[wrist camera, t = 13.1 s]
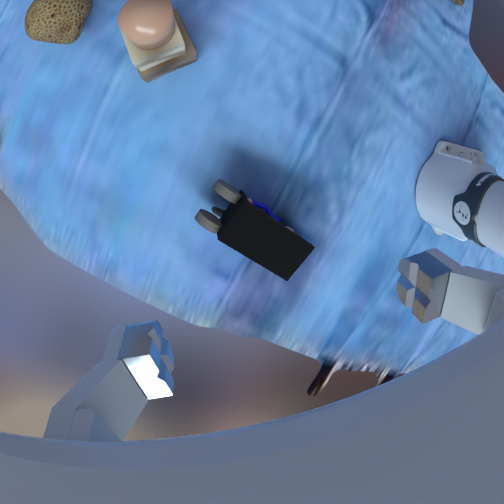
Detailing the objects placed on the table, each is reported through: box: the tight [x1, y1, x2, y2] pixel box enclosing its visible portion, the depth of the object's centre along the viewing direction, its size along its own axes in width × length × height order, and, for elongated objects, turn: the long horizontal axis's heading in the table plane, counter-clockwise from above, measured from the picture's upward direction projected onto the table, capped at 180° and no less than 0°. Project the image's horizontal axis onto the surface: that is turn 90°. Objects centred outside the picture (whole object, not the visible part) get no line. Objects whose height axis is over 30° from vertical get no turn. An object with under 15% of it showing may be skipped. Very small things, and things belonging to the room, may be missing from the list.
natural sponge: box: [25, 0, 92, 44], centre depth 21 cm, size 9×9×10 cm
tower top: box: [120, 18, 186, 72], centre depth 24 cm, size 6×6×5 cm
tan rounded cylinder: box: [118, 0, 176, 50], centre depth 19 cm, size 5×5×5 cm
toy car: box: [195, 180, 315, 281], centre depth 40 cm, size 7×8×15 cm
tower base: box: [137, 9, 197, 83], centre depth 28 cm, size 7×7×5 cm
